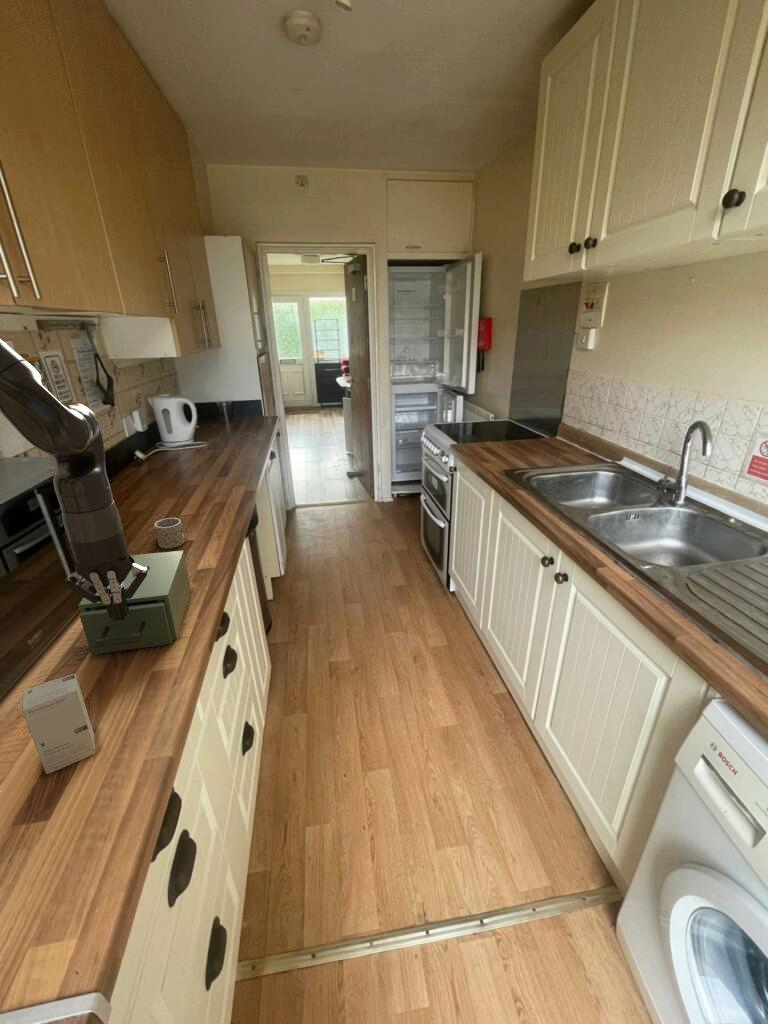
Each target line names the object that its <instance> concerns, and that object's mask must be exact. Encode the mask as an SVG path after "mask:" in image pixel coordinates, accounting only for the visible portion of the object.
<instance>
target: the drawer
mask: <svg viewBox="0 0 768 1024" xmlns="http://www.w3.org/2000/svg"><path fill="white" fill-rule="evenodd" d="M128 607H129V611H128V614H127V616H126V617H125V618H124V620H118V621H114V620H113V618H110V617H109V615H108V611H107V608H106V606H102V607H93V608H90V609H91V611H84V612H81V611H80V613H79V619H80V623H81V625H82V629H83V631H84V635H85V638H86V640H87V643H88V644H87V645H88V647H89V650H90V654H91V655H92V656H94V655H101V654H109V653H114V652H115V653H116V652H123V651H129V650H135V649H137V650H138V649H143V648H144V649H145V648H151V647H158V646H159V647H160V646H165V645H171V644H172V643H173V640H172V636H171V631H170V626H169V622H168V617H167V613H166V608H165V604H164V600H163V599H162V600H153V601H145V602H136V603H128Z"/></svg>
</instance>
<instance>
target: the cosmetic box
mask: <svg viewBox="0 0 768 1024" xmlns="http://www.w3.org/2000/svg"><path fill="white" fill-rule="evenodd" d="M21 712H22V715H23V718H24V720H25V723H26V725H27V728H28V731H29V733H30V736H31V738H32V740H33V741H32V742H33V743H34V746H35V749H36V751H37V754H38V757H39V759H40V761H41V764H42V767H43V769H44V773H45V775H49V774H51V773H54V772H56V771H59V770H61V769H64V768H66V767H69V766H71V765H72V764H75V763H77V762H80V761H81V760H84V759H86V758H88V757H90V756H92V755H94V754H96V745H95V742H96V741H95V734H94V733H95V732H94V729H93V726H92V723H91V720H90V716H89V714H88V713H89V712H88V710H87V706H86V703H85V700H84V697H83V693H82V689H81V687H80V683H79V679H78V676H77V673H72V674H69V675H66V676H62V677H59V678H55V679H51V680H48V681H46V682H43V683H41V684H39V685H35V686H32V687H30V688H27V689H24V690H22V709H21Z"/></svg>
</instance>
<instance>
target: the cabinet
mask: <svg viewBox="0 0 768 1024" xmlns="http://www.w3.org/2000/svg"><path fill="white" fill-rule="evenodd" d="M130 556H131V557H132V558H133V559H134V563H135V564H138V565H140V566H142V567H143V566H144V565H148V566H149V567H150V570H149V572H148V574H147V576H146V578H145V579H144V581H143V582H142V583H141V585H140V586H139V588H138V589H137V591H136V592H135V594H134V595H133V597H132V598H130V599H126V600H127V604H128V603H136V602H145V601H153V600H162V599H163V600H164V604H165V608H166V613H167V617H168V622H169V626H170V631H171V636H172V641H174V640H178V637H179V633H180V630H181V627H182V624H183V623H182V622H183V619H184V617H185V612H186V610H187V609H186V608H187V605H188V602H189V598H190V594H191V590H192V588H191V583H190V577H189V571H188V566H187V562H186V557H185V551H184V550H174V551H173V550H172V551H163V552H153V553H141V554H130ZM132 574H133V572H132V570H131V571H130V572H129V574H128V575H127V577H126V579H125V584H124V585H125V589H127V588H128V587H129V586H130V584H131V583H132V581H133V580H134V578H133V576H132ZM102 606H106V605H105V604H104V603H103V602H97V603H92V602H90V601H89V600H87V599H86V598H84V597H82V598H81V601H80V602H79V603H78V608H79V611H80V613H81V612H84V611H91V609H90V608H93V607H102Z"/></svg>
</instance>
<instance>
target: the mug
mask: <svg viewBox="0 0 768 1024" xmlns="http://www.w3.org/2000/svg"><path fill="white" fill-rule="evenodd" d="M154 529H155V534H156V538H157V544H158V547H160V548H162V549H175V548H178V547H180V546H182V545H183V544H184V543H185V542H186V541H185V535H184V530H183V526H182V520H181V519H180V518H178V517H167V518H162V519H159V520H156V521H154Z"/></svg>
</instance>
